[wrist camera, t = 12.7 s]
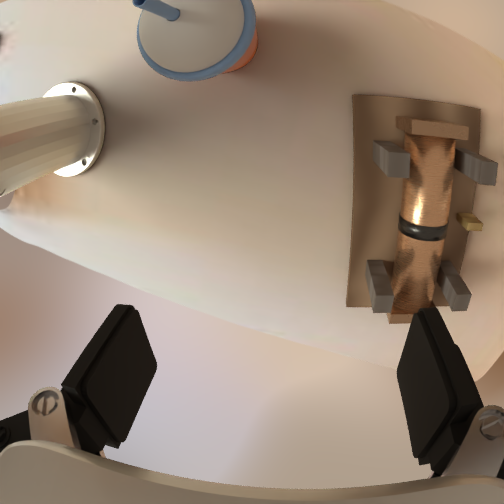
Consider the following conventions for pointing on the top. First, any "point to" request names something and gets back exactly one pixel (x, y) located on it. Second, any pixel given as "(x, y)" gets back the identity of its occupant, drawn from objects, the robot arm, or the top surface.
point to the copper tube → (423, 212)
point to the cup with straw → (196, 36)
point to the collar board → (390, 193)
